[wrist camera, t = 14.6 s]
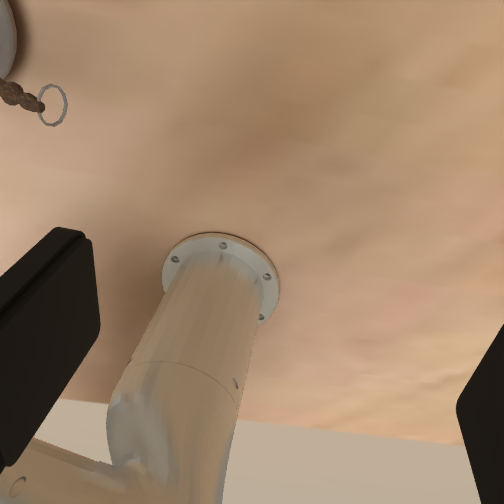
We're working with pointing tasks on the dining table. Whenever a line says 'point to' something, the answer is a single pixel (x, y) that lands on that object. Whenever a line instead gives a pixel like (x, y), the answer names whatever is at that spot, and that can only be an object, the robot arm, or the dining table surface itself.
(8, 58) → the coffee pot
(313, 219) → the dining table surface
